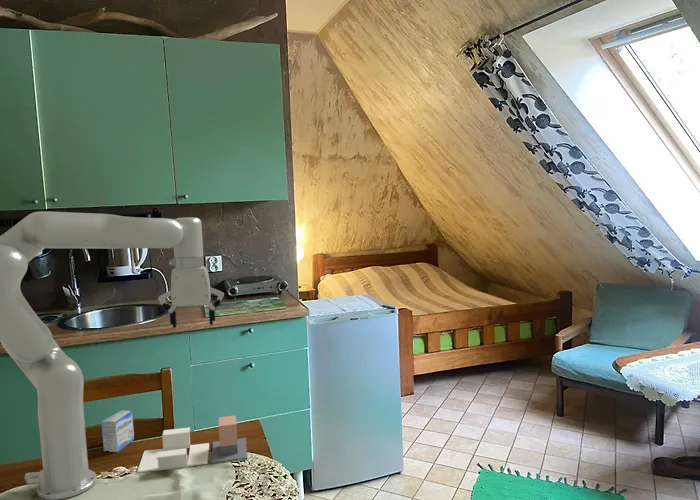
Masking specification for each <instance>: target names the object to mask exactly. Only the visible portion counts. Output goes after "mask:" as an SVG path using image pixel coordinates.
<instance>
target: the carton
mask: <svg viewBox="0 0 700 500" xmlns="http://www.w3.org/2000/svg"><path fill="white" fill-rule="evenodd" d="M190 431H191V426H190V427H182V428H172V429H171V428H170V429H164V430H163V431H162V448H157V449H156V448H155V449H148V450H144V452H143V453H142V457H141V460H140V462H139V465H138V468H137V474H140V473H141V474H142V473H149V472H155V471H164V470H172V469H179V468H181V469H182V468H186V467H194V466H195V465H196V466H201V465H200V464H204V465H208V464H209V463H208V462H209V451H210V442H208V443H207V442H205V443H199V444H198V443H197V444H191V436H190V435H191V432H190ZM187 449H189V452H188V453H187Z"/></svg>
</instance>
